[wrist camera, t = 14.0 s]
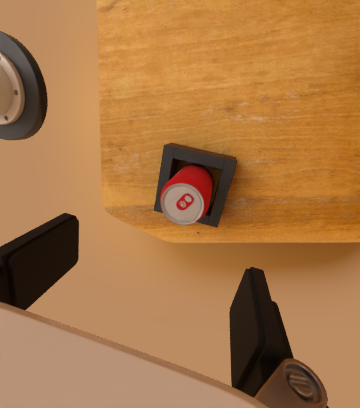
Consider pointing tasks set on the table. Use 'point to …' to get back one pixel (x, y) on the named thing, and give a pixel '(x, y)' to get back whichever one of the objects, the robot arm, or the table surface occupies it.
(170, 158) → the frame
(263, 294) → the robot arm
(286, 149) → the table surface
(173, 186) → the beverage can
